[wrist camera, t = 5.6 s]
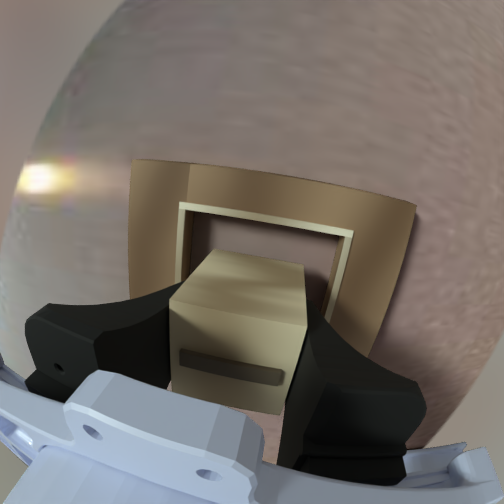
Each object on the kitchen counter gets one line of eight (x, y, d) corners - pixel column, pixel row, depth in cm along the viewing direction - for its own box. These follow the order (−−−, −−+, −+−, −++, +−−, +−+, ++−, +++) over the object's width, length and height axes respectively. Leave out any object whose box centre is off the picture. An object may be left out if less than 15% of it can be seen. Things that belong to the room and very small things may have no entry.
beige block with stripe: (303, 264, 12) (307, 330, 8) (286, 339, 14) (279, 419, 9) (213, 248, 13) (166, 302, 8) (207, 323, 14) (170, 395, 9)
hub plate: (407, 201, 12) (417, 205, 11) (347, 381, 16) (350, 396, 14) (144, 159, 13) (130, 159, 12) (143, 341, 17) (133, 352, 15)
